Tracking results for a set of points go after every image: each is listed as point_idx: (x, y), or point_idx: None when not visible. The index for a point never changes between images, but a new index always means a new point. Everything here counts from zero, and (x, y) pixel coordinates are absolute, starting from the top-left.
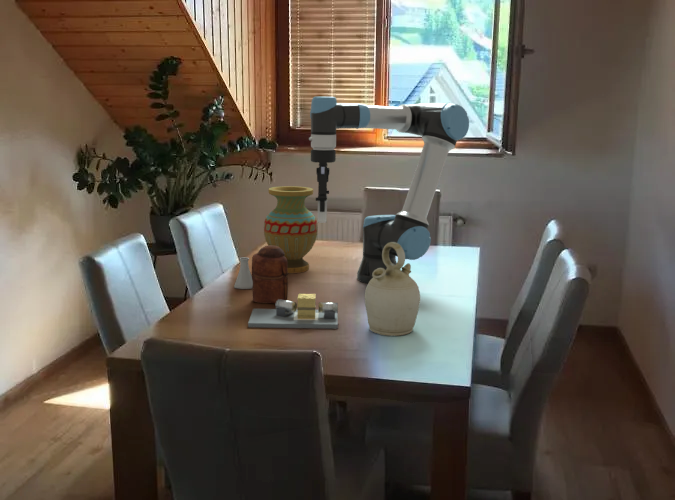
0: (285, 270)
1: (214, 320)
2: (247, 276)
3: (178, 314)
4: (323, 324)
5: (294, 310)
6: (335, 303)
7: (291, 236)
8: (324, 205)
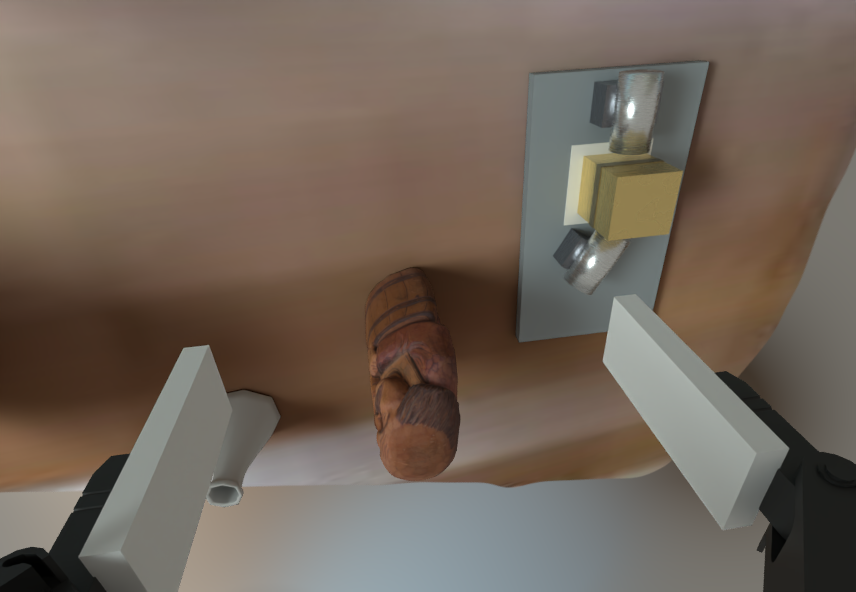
0: (449, 336)
1: (579, 398)
2: (255, 433)
3: (530, 469)
4: (696, 115)
5: None
6: (655, 84)
7: None
8: (786, 422)
